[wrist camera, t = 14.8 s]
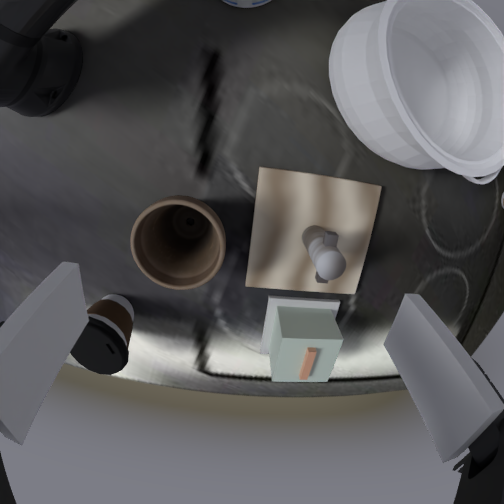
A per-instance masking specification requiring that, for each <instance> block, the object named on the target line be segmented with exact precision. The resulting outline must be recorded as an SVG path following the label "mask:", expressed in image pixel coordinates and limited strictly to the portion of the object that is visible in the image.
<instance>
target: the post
mask: <svg viewBox="0 0 504 504" xmlns="http://www.w3.org/2000/svg"><path fill="white" fill-rule="evenodd" d="M381 187H382V186H379V185H376V184H371V183H366V182H360V181H355V180H350V179H344V178H338V177H332V176H326V175H320V174H313V173H307V172H300V171H293V170H285V169H277V168H269V167H261V166H259V174H258V183H257V191H256V200H255V208H254V216H253V225H252V233H251V242H250V250H249V259H248V267H247V276H246V286H248V287H260V288H272V289H285V290H298V291H313V292H328V293H345V294H355V292H356V288H357V285H358V282H359V278H360V275H361V271H362V268H363V264H364V260H365V256H366V253H367V249H368V245H369V241H370V237H371V233H372V229H373V225H374V220H375V216H376V211H377V207H378V202H379V197H380V192H381Z"/></svg>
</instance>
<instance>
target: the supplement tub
mask: <svg viewBox="0 0 504 504" xmlns="http://www.w3.org/2000/svg"><path fill="white" fill-rule="evenodd" d="M222 1H223V2H225V3H227V4H229V5H232V6H235V7H241V8H251V7H257V6H261V5H264V4H266V3H268V2H270V1H271V0H222Z"/></svg>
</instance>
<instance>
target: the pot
mask: <svg viewBox="0 0 504 504" xmlns="http://www.w3.org/2000/svg"><path fill="white" fill-rule="evenodd" d="M329 78H330V83H331V88H332V94H333V96H334V99H335V101H336V104H337V107H338V109H339V111H340V113H341V115H342V116H343V118H344V120H345V122H346V123H347V125H348V127H349V128H350V129H351V130H352V131H353V133H354V134H355V135H356V136H357V138H358V139H359V140H360V141H361V142H362V143H363V144H365V145H366V146H367V147H368V148H369V149H370V150H371V151H373V152H374V153H376V154H378V155H379V156H381V157H382V158H384V159H386V160H388V161H391V162H394V163H396V164H399V165H402V166H404V167H407V168H413V169H420V170H425V169H439V168H446V169H448V170H450V171H452V172H454V173H456V174H460V175H463V177H465V178H466V179H467V180H469V181H471V182H473V183H476V184H486V183H489V182H491V181H492V180H493V179H495V177H496V176H497V175H498V173H499V171H500V170H501V168H502V166H504V36H503V34H502V33H501V31H500V30H499V29H498V27H497V26H496V25H495V23H494V22H493V21H492V20H491V18H490V17H489V16H488V15H487V14H486V13H485V12H484V11H483V10H482V9H481V8H480V7H479V6H478V5H477V4H475V3H474V2H473V1H471V0H387V1H384V2H381V3H377V4H374V5H371V6H368V7H365V8H363V9H362V10H360V11H358V12H357V13H355V14H354V15H352V16H351V17H350V19H349V20H348V21H347V22H346V23H345V24H344V25H343V27H342V28H341V29H340V30H339V31H338V33H337V35H336V37H335V39H334V42H333V44H332V48H331V52H330V57H329ZM486 175H487V176H486ZM480 176H486V177H484V178H482V179H479V180H477V179H475V178H474V177H480Z"/></svg>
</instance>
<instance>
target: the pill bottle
mask: <svg viewBox="0 0 504 504" xmlns="http://www.w3.org/2000/svg"><path fill="white" fill-rule="evenodd" d="M501 203H502V207H503V208H504V192H503V194H502V198H501Z"/></svg>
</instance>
